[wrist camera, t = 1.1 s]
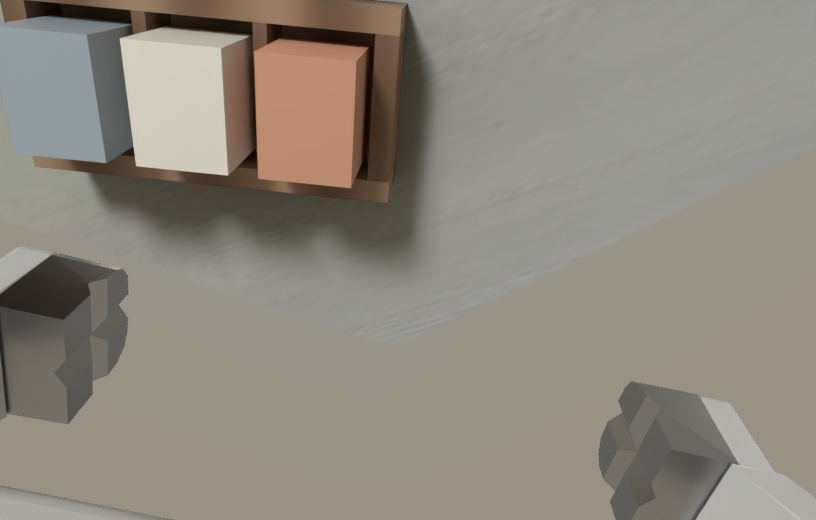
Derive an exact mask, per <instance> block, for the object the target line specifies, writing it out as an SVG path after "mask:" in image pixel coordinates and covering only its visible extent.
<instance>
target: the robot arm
mask: <svg viewBox="0 0 816 520" xmlns="http://www.w3.org/2000/svg"><path fill="white" fill-rule="evenodd" d="M127 295H128V275H127V274H126V272H125V271H124V270H123V269H121V268H117V267H113V266H109V265H105V264H101V263H96V262H92V261H88V260H84V259H79V258H75V257H71V256H67V255H63V254H57V253H55V252H50V251H46V250H41V249H36V248H31V247H17V248H16V249H14V250H13V251H11V252H10V253H8V254H7V255H5V256H4V257H3V258H1V259H0V420H1V419H3V418H5V417H6V416H7V414H12V415H18V416H23V417H29V418H35V419H41V420H47V421H52V422H57V423H64V424H69V422H70V421H71V420H72V419H73V417H74V416H75V415H76V414H77V412H78V411H79V410H80V409H81V408H82V406H83V405H84V404H85V403H86V401H87V400H88V399H89V398H90V396H91V395H92V393H93V392H92V381H94V380H97V379H99V378H101V377H104V376H107V375H108V374H109V373H110V371H111V370H112V369H113V367H114V366H115V365H116V363H117V362H118V359H119V357H120V355H121V353H122V350H123V348H124V346H125V341H126V336H127V329H128V327H127V326H128V318H127V316H126V315H125V313H124V312H123V310H122V309H121V308H120V306H119V304H120V303H121V301H122V300H123V299H124V298H125V297H126V296H127ZM619 404H620V407H621V410H622V413H621V414H619V415H618V416H616V417H614V418H613V419H611V420H609V421H608V423H607V425H606V427H605V429H604V432H603V434H602V436H601V441H600V448H599V466H600V470H601V473H602V477H603V479H604V480H605V481H606V482H607V483H608V484H609V485H610V486H611V487H612V488H613V489H614V490H615V493H614V495H613V497H612V499H611V501H610V503H611V506H612V509H613V512H614V515H615V519H616V520H816V498H814V497H813V496H811V495H810V494H809V493H808V492H806V491H805V490H804V489H802V488H801V487H800V486H798V485H797V484H796V483H794V482H793V481H791V480H790V479H789V478H788V477H787V476H785V475H782V474H778V473H775V472H774V471H773V469H772V468H771V466H770V465H769V463H768V462H767V460H766V458H765V457H764V455H763V454H762V452H761V451H760V449H759V448H758V446H757V445H756V443H755V442H754V440H753V439H752V437H751V435H750V434H749V432H748V431H747V429H746V428H745V426H744V425H743V423H742V421H741V420H740V418H739V417H738V415H737V414H736V412H735V411H734V409H733V408H732V406H731V405H730V403H728V402H727V401H725V400H724V399H722V398H717V397H712V396H706V395H701V394H695V393H688V392H683V391H678V390H673V389H668V388H663V387H658V386H653V385H647V384H642V383H637V382H631V383H630V384H628V386H627V387H626V388H625V389H624V391H623V393H622V395H621V396H620V399H619ZM0 520H173V519H168V518H162V517H157V516H152V515H147V514H142V513H137V512H132V511H127V510H122V509H117V508H112V507H107V506H102V505H97V504H91V503H87V502H82V501H77V500H72V499H67V498H61V497H56V496H51V495H46V494H41V493H36V492H31V491H25V490H21V489H16V488H11V487H6V486H0Z"/></svg>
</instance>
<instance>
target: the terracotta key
mask: <svg viewBox="0 0 816 520" xmlns="http://www.w3.org/2000/svg"><path fill="white" fill-rule="evenodd" d="M369 59H370V46H366V45H356V44H345V43H335V42H325V41H315V40H304V39H294V38H284V37H282V38H280V39H278V40H276V41H274V42H272V43H270V44H268V45H266V46H264V47H262V48H260V49H258V50H256V51H254V64H255V95H256V126H257V157H258V179H266V180H275V181H285V182H295V183H305V184H314V185H324V186H334V187H344V188H351V187H352V185H353V183H354V180H355V178H356V176H357V173H358V171H359V169H360V166H361V164H362V162H363V159H364V156H365V136H366V117H367V98H368V78H369Z"/></svg>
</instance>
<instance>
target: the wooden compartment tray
mask: <svg viewBox="0 0 816 520" xmlns="http://www.w3.org/2000/svg"><path fill="white" fill-rule="evenodd" d="M0 2H1V7H2V12H3V16H4V21H5V22H10V21H17V20H23V19H29V18H36V17H42V16H48V15H58V16H68V17H78V18H89V19H99V20H109V21H119V22H130V23H132V29H133V35H134V34H138V33H142V32H146V31H150V30H154V29H157V28H161V27H165V26H171V27H181V28H191V29H202V30H212V31H222V32H232V33H243V34H253V58H254V51H256V50H258V49H260V48H262V47H264V46H266V45H268V44H270V43H272V42H274V41H276V40H278V39H280V38H282V37H284V38H294V39H304V40H315V41H325V42H335V43H345V44H356V45H366V46H370V59H369V78H368V98H367V117H366V136H365V156H364V159H363V162H362V164H361V166H360V169H359V171H358V173H357V176H356V178H355V180H354V183H353V185H352V187H351V188H344V187H334V186H324V185H314V184H305V183H295V182H285V181H275V180H266V179H258V157H257V126H256V148H255V149H254V150H253V151H252V152H251V153H250V154H249V155H248V156H247V157H246V158H245V159H244V160H243V161H242V162H241V163H240V164H239V165H238V166H237V167H236V168H235V169H234V170H233V171H232V172H231V173H230V174H229V175H228V176H227V175H217V174H207V173H197V172H188V171H178V170H168V169H158V168H149V167H139V166H136V162H135V154H134V147H132V148H130V149H129V150H127V151H125V152H124V153H122V154H120V155H119V156H117V157H116V158H114V159H112V160H111V161H109V162H107V163H100V162H90V161H80V160H71V159H61V158H51V157H41V156H33V160H34V165H35V167H42V168H52V169H62V170H71V171H81V172H91V173H101V174H110V175H120V176H130V177H139V178H149V179H159V180H168V181H178V182H188V183H198V184H207V185H217V186H227V187H236V188H246V189H256V190H266V191H275V192H285V193H295V194H304V195H314V196H324V197H334V198H343V199H353V200H363V201H372V202H382V203H388V200H389V196H390V192H391V188H392V185H393V181H394V172H395V159H396V145H397V132H398V119H399V106H400V93H401V80H402V67H403V54H404V41H405V28H406V14H407V3H397V2H386V1H376V0H0ZM254 88H255V64H254ZM255 118H256V95H255Z"/></svg>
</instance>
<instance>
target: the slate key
mask: <svg viewBox="0 0 816 520" xmlns="http://www.w3.org/2000/svg"><path fill="white" fill-rule="evenodd" d="M130 35H133V29H132V23H130V22H119V21H109V20H99V19H89V18H78V17H68V16H58V15H48V16H42V17H36V18H29V19H23V20H17V21H10V22H4V23H0V88H1V93H2V97H3V102H4V106H5V111H6V115H7V120H8V124H9V129H10V133H11V138H12V142H13V147H14V151H15V154H22V155H32V156H41V157H51V158H61V159H71V160H80V161H90V162H100V163H107V162H109V161H111V160H112V159H114V158H116V157H117V156H119V155H120V154H122V153H124V152H125V151H127V150H129V149H130V148H132V147H134V146H133V138H132V131H131V123H130V115H129V107H128V99H127V92H126V84H125V76H124V68H123V61H122V53H121V45H120V38H123V37H127V36H130Z"/></svg>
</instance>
